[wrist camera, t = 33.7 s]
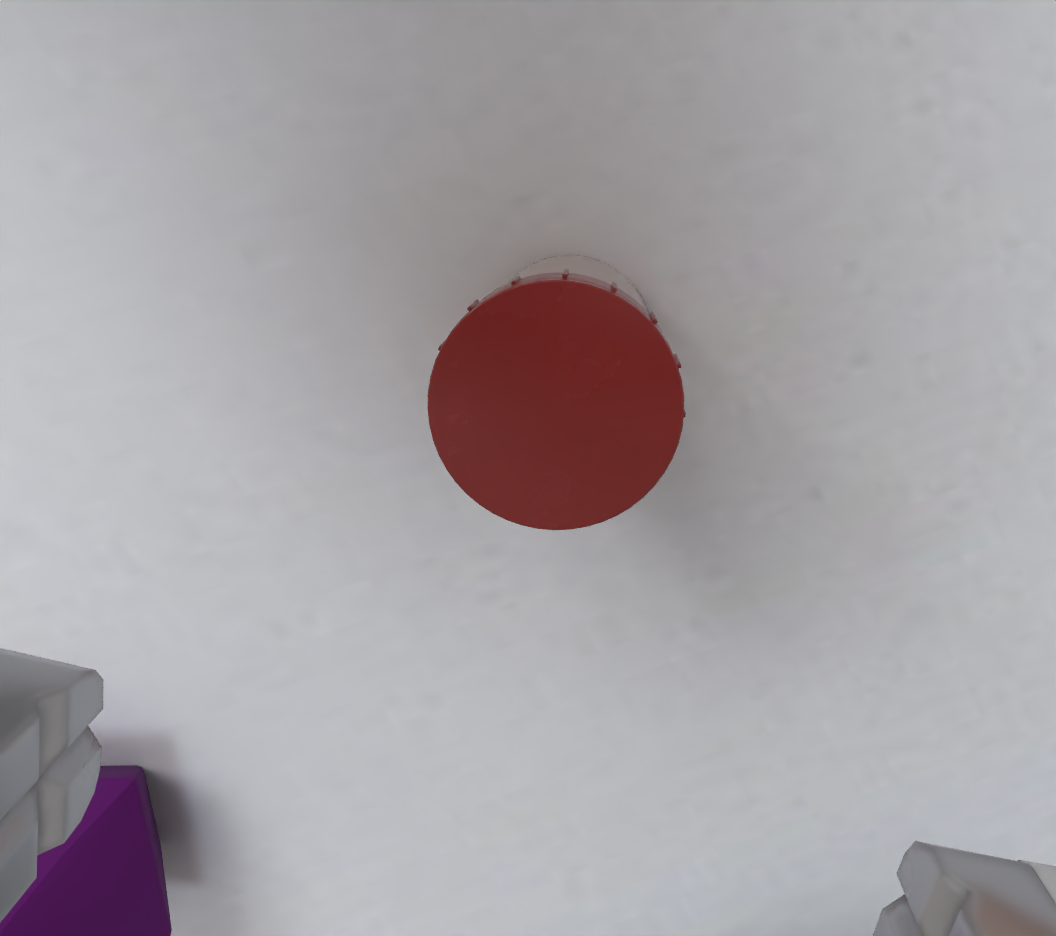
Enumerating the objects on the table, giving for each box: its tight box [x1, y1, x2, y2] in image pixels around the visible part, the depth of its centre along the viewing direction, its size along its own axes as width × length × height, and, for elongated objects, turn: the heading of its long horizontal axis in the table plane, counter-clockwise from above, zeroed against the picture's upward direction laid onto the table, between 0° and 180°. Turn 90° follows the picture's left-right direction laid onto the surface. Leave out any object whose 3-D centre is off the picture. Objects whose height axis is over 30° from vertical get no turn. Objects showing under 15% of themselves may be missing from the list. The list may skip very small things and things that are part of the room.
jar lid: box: [428, 269, 686, 530], centre depth 22 cm, size 6×6×2 cm
